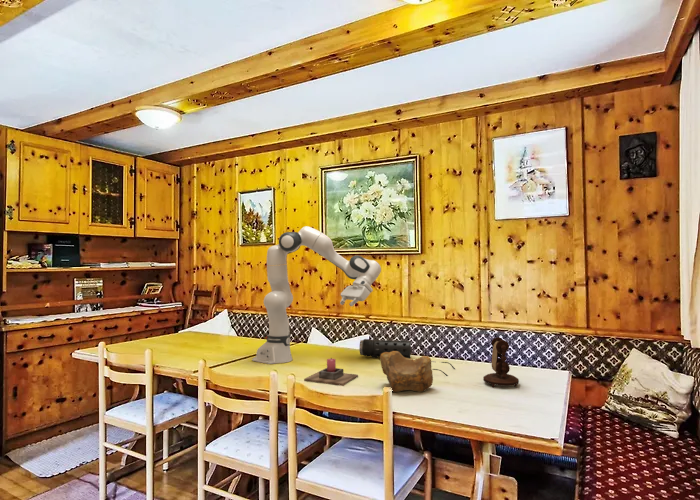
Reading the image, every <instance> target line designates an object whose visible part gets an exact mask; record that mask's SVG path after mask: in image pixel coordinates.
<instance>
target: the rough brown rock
mask: <svg viewBox="0 0 700 500" xmlns="http://www.w3.org/2000/svg"><path fill="white" fill-rule="evenodd" d="M379 359H380V365H381V370H382V373H383V374H384V375H385V376H386V379H387V381H388V385H389V388H390V387H391V388H392V390H393V392H392V393H398V392H403V391H414V392H417V393H422V392H423V393H424V391H427V390H428V389H430V388H431V387H432V385H433V382H434V377H433V370H432V362H431V361H432V359H431V357H430V356H427V355H422V356H420V357H418V358H416V359H412V358H405V357H403V356H402V355H401V353H400V352H398V351H391V352H390V353H389V352H384V353H382V354H381V356H380V357H379Z"/></svg>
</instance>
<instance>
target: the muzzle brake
mask: <svg viewBox="0 0 700 500" xmlns="http://www.w3.org/2000/svg"><path fill="white" fill-rule="evenodd" d="M411 345H412V344H411V340H398V339H397V340H395V339H394V340H389V339H387V340H386V339H385V340H384V339H374V340H373V339H371V338H364V339H362V340H360V341H359V348H358V349H359V355H361V356H363V357H371V358H372V359H378V358H380V356H381V354H382V353H384V352H389V353H390V352H391V351H398V352H400V353H401V355H402V356H403V357H405V358H409V359H411V356H412V354H411V353H412V348H411V347H412V346H411Z"/></svg>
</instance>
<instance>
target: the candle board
mask: <svg viewBox="0 0 700 500" xmlns="http://www.w3.org/2000/svg"><path fill="white" fill-rule="evenodd" d="M357 378H359V375H358V374H354V373H345V372H344V368H336V372H335V373H334V372H327V367H326V368H324V369H321V370H320V371H319V370H318V371H317V372H315V373H313V374H311V375H309V376H307V377H305V378H303V380H304V382H310V383H318V384H325V385H326V384H327V385H332V386H333V385H335V386H342V387H343V386H345V385H347V384H349V383H350V382H352V381H354V380H355V379H357Z"/></svg>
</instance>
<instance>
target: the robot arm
mask: <svg viewBox="0 0 700 500" xmlns="http://www.w3.org/2000/svg"><path fill="white" fill-rule="evenodd" d="M302 246H304V247H307V248H308V249H310V250H312V251H313V252H315V253H317V254H318V255H320V256H321V257H323V258H324V259H325V260H327V261H329V262H330V263H331V264H333V266H335V267H336V268H338V269H340V270H341V271H342V272H343V273H344V275H345V276H346V277H347V278H349V279H350V280H354V281H353V282H352V284H351V285H348V286H346V287H345V288H344V289H343V290H342V292H340V296H341V300H340V302H339V304H340V305H341V306H343V305H344V304H346V303H345V302H346V301H347V300H350V302H349V303H348V304H349V306H350V307H354V305H356V304H358V302H363V301H365V300H367V298H368V297H369V296H370V295H371V293H372V292H373V291H374V290H373V288H372V285H373V283H374V282H375V281H376V280H377V279H378V277H379V276H380V274H381V273H382V267H381V265H380V263H379V262H378V261H376V260H374V259H367V258H364V257H363V256H361V255H357V254H356V255H353V256H351V257H350V259H349V260H347V258H344V257H343V256H342V255H340V254H339V253H338V252H337V251H336V250H335V248H334V244H333V240H332V239H331V238H330V237H329V236H327V235H326V234H325V233H323V232H322V231H320V230H318V229H316V228H313V227H311V226H308V225H307V226H306V225H305V226H303V227H302V228H300V230H299V231H286V232H284V233H282V234H281V235H280V236H279V238H278V243H277V244H275V245H271V246H269V247H268V249H267V251H266V252H267V253H266V275H267V281H268V283H269V286H270V290H271V291H270V292H268V293H267V294H266V295H265V296H264V298H263V306H264V307H265V309H266V312H267V318H268V331H269V333H268V335H266V336H265V338H264V340H266V341H265V342H264V343H263V344H262V345H260V346H259V347H258V348H257V349H256V355H255V356H254V357H253V358H252V359H251V361H252V362H257V363H263V364H268V365H274V364H283V363H289V362H291V361H293V357H292V352H291V351H292V350H291V334H290V319H289V317H288V313H287V308H289V307H290V306H291V305H292V303H293V301H294V295H293V293H292V292H291V287H290V283H289V277H288V264H287V256H288V255H289V254H292V253H295V252H296V251H298V250H300V248H301V247H302Z"/></svg>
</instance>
